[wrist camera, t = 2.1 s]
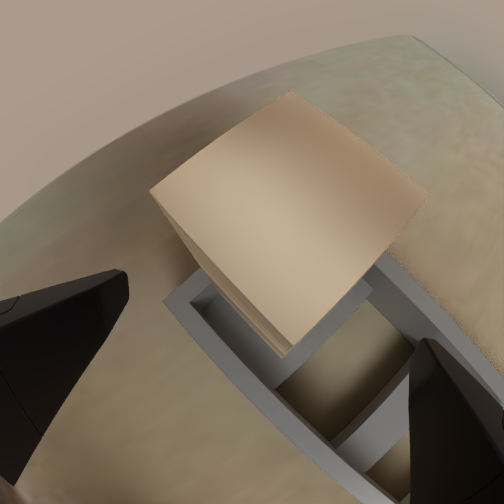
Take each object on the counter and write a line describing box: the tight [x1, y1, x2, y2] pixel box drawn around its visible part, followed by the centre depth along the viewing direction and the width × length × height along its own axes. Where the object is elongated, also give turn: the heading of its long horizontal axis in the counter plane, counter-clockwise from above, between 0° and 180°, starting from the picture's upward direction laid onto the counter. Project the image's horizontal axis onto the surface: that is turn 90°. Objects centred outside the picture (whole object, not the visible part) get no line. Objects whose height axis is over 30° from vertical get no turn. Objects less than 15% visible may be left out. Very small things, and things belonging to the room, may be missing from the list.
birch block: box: [149, 91, 430, 359], centre depth 12 cm, size 5×5×11 cm
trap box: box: [163, 251, 504, 504], centre depth 14 cm, size 10×27×4 cm, turn 43°
